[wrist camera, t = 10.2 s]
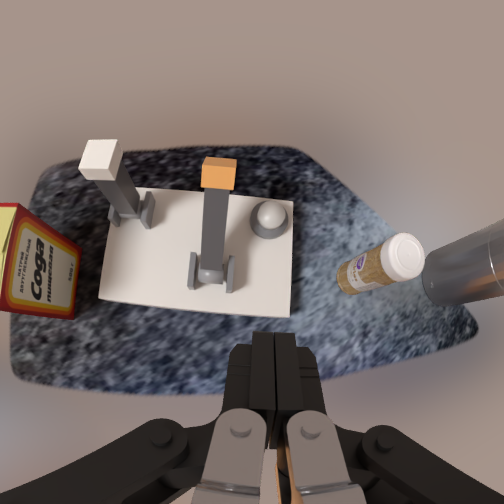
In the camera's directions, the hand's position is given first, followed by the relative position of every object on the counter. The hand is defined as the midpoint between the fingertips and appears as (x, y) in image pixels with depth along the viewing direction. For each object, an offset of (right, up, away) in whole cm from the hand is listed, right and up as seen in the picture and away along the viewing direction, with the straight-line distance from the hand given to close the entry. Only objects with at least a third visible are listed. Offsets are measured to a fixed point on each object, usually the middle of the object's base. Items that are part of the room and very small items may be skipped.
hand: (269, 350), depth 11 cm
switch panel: (-7, +3, +26) cm, 27 cm away
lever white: (-15, +8, +23) cm, 28 cm away
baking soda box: (-27, 0, +23) cm, 35 cm away
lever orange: (-5, 0, +21) cm, 22 cm away
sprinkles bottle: (+12, 0, +28) cm, 30 cm away
